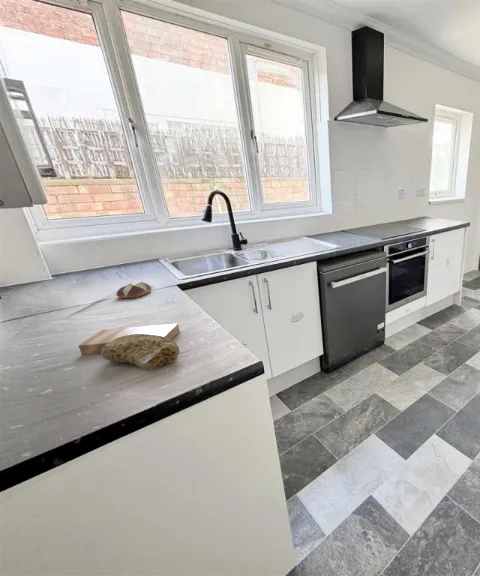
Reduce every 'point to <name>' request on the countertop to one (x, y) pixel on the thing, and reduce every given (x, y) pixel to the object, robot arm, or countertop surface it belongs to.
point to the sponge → (141, 350)
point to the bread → (133, 290)
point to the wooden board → (108, 335)
